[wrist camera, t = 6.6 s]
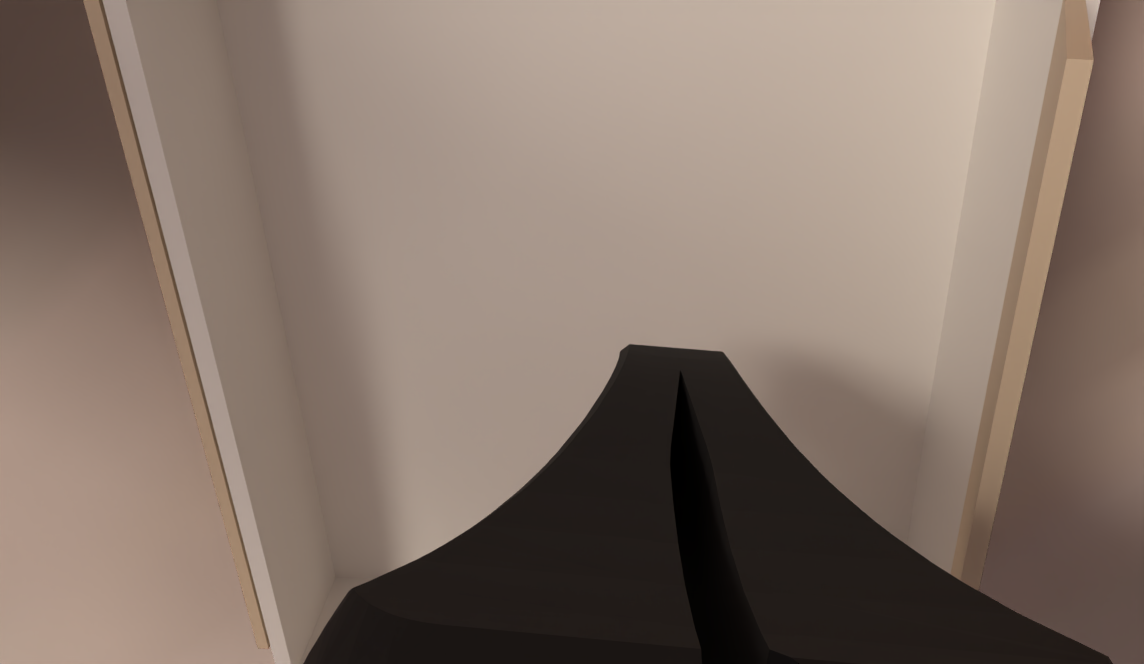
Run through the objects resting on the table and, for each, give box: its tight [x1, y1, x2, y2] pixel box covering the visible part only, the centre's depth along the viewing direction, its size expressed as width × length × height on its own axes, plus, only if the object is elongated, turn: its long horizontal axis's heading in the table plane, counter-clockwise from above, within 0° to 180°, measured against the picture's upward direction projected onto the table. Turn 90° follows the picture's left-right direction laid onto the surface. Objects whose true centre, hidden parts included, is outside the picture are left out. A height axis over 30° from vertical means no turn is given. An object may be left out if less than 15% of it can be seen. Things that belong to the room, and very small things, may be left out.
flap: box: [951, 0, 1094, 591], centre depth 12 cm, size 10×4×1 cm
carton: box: [83, 0, 1100, 664], centre depth 15 cm, size 14×12×3 cm
